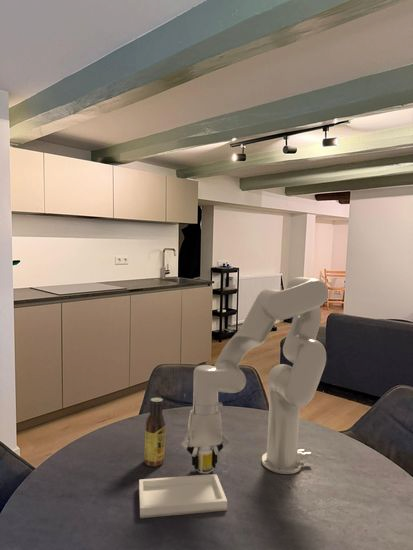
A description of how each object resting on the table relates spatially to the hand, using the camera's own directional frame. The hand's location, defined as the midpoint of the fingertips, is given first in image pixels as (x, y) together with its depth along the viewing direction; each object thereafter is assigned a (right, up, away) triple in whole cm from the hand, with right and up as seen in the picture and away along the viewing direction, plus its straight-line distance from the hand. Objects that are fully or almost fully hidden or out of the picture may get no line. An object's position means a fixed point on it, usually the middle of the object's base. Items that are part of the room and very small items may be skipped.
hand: (204, 465), depth 116 cm
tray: (-6, -2, -14) cm, 15 cm away
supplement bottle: (0, -1, 0) cm, 1 cm away
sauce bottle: (-16, -1, +4) cm, 16 cm away
